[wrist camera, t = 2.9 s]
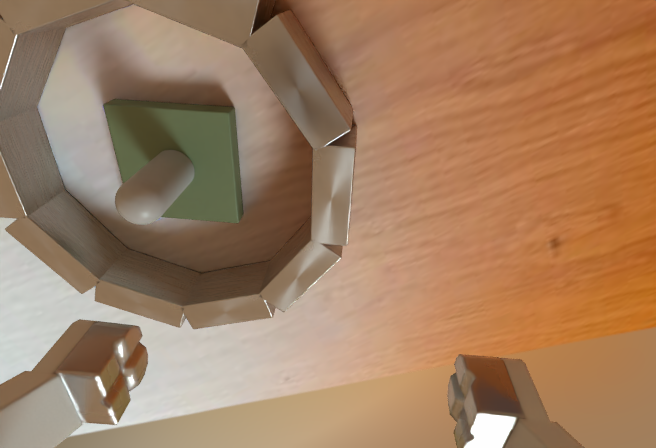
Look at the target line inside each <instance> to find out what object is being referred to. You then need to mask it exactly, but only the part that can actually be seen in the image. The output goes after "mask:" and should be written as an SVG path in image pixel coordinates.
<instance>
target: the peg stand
mask: <svg viewBox="0 0 656 448" xmlns="http://www.w3.org/2000/svg"><path fill="white" fill-rule="evenodd" d="M103 106H104V110H105V114H106V118H107V122H108V126H109V130H110V134H111V138H112V142H113V146H114V150H115V154H116V158H117V161H118V165H119V169H120V173H121V177H122V181H123V184H122V185H121V186H120V188H119V189H118V191H117V193H116V196H115V204H116V208H117V210H118V212H119V214H120V215H121V216H122V217H123V218H124V219H125V220H127V221H129V222H131V223H133V224H138V225H145V224H150V223H152V222H155V221H156V220H158V219H159V218H160V217H167V218H180V219H192V220H205V221H217V222H229V223H239V221H240V220H241V218H242V216H243V204H242V192H241V179H240V167H239V155H238V143H237V130H236V118H235V108H234V107H227V106H212V105H196V104H181V103H166V102H151V101H136V100H121V99H113V100H111V101H109V102H107V103H105V104H104V105H103Z"/></svg>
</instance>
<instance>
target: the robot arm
mask: <svg viewBox="0 0 656 448" xmlns="http://www.w3.org/2000/svg"><path fill="white" fill-rule="evenodd" d="M141 337H142V333H141V330H140V327H139V326H134V325H126V324H117V323H109V322H100V321H89V320H80V319H79V320H78V321H76V322H74V323H72V324H71V326H70V327H69V328H68V329H67V330H66V331H65V333H64V334H63V335H62V336H61V337H60V338H59V340H58V341H57V342H56V343H55V344H54V345H53V347H52V348H51V349H50V350H49V351H48V352H47V354H46V355H45V356H44V357H43V358H42V359H41V361H40V362H39V363H38V364H37V365H36V366H35V368H34V369H33V370H32V371H24V372H22V373H21V374H19V375H17V376H15V377H13V378H12V379H10V380H8V381H6V382H4V383H2V384H1V385H0V448H54V447H56V446H57V445H58V444H59V443H61V442H62V441H63V440H64V439H65V438H67V437H68V436H69V435H70V434H72V433H73V432H74V431H75V430H76V429H78V428H79V427H80V426H81V425H82V422H83V423H97V424H111V425H117V423H118V422H119V420H120V418H121V416H122V414H123V413H124V411H125V409H126V407H127V406H128V404H129V402H130V395H129V391H131V390H132V389H134V388H135V387H136V386H138V385H139V384H140V382H141V380H142V378H143V376H144V375H145V371H146V367H147V364H148V354H147V350H146V347H145V346H143V345H142V344H141V343H140V342H139V341H140V339H141ZM454 365H455V369H456V373H455V374H453V375H451V377H450V380H449V384H448V406H449V411H450V415H451V416H452V417H453V418H454V420H455V421H456V422H457V424H456V427H455V430H454V436H455V441H456V445H457V448H584V447H583V446H582V445H581V444H580V443H579V442H578V441H577V440H576V439H574V438H573V437H572V436H571V435H570V434H569V433H568V432H567V431H566V430H565V429H563V427H561V426H560V425H559V424H558V423H557V422H551V421H550V420H549V417H548V415H547V413H546V410H545V408H544V406H543V403H542V401H541V399H540V397H539V394H538V392H537V390H536V387H535V385H534V383H533V380H532V378H531V376H530V373H529V371H528V369H527V367H526V364H525V363H524V362H523V361H522V360H520V359H508V358H498V357H487V356H475V355H462V354H459V355H458V357H457V358H456V361H455V364H454Z"/></svg>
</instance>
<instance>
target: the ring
mask: <svg viewBox="0 0 656 448" xmlns="http://www.w3.org/2000/svg"><path fill="white" fill-rule="evenodd" d="M274 3H275V0H0V217H4V218H16V219H17V220H15V221H14V222H13V223H12V224H10V225H9V226H8V227H7V228H5V230H6V231H7V232H8V233H9V234H10V235H12V236H13V237H14V238H15V239H16V240H18V241H19V242H20V243H21V244H22V245H24V246H25V247H26V248H27V249H28V250H30V251H31V252H32V253H33V254H34V255H36V256H37V257H38V258H39V259H40V260H42V261H43V262H44V263H45V264H46V265H48V266H49V267H50V268H51V269H52V270H54V271H55V272H56V273H57V274H58V275H60V276H61V277H62V278H63V279H64V280H66V281H67V282H68V283H69V284H70V285H72V286H73V287H74V288H75V289H76V290H78V291H79V292H80V293H81V294H83V293H85V292H86V291H88V290H90V289H91V288H93V287H94V286H96V289H95V301H96V302H100V303H103V304H106V305H109V306H112V307H115V308H119V309H122V310H125V311H128V312H131V313H134V314H138V315H141V316H144V317H147V318H150V319H153V320H157V321H160V322H163V323H166V324H169V325H172V326H176V327H179V328H180V327H181V326H182V324H183V322H184V321H185V319H186V318H187V320H188V321H189V323H190V325H191V326H192V328H193V329H198V328H205V327H212V326H218V325H225V324H232V323H239V322H245V321H252V320H259V319H266V318H272V317H273V315H274V312H275V308H278V309H279V310H281V311H282V312H285V311H286V310H287V309H288V308H289V307H290V306H291V305H292V304H293V303H294V302H295V301H296V300H298V299H299V298H300V297H301V296H302V295H303V294H304V293H305V292H306V291H307V290H308V289H309V288H310V287H311V286H312V285H313V284H314V283H315V282H317V281H318V280H319V279H320V278H321V277H322V276H323V275H324V274H325V273H326V272H327V271H328V270H329V269H330V268H331V267H332V266H333V265H334V264H335V263H337V262H338V261H339V260H340V259H341V257H342V247H343V246H347V245H348V237H349V225H350V213H351V201H352V188H353V176H354V164H355V152H356V138H357V126H356V125H352V117H353V108H352V107H351V105H350V103H349V102H348V100H347V99H346V97H345V95H344V94H343V92H342V91H341V89H340V87H339V86H338V84H337V83H336V81H335V79H334V78H333V76H332V74H331V73H330V71H329V70H328V68H327V66H326V65H325V63H324V62H323V60H322V58H321V57H320V55H319V54H318V52H317V50H316V49H315V47H314V45H313V44H312V42H311V41H310V39H309V37H308V36H307V34H306V33H305V31H304V29H303V28H302V26H301V25H300V23H299V21H298V20H297V18H296V16H295V15H294V13H293V12H292V10H288V11H285V12H282V13H280V14H277V15H275V16H274V17H273V18H272V19H270V18H271V14H272V10H273V7H274ZM132 4H134V5H137V6H139V7H142V8H144V9H147V10H149V11H152V12H154V13H157V14H159V15H162V16H164V17H166V18H169V19H171V20H174V21H176V22H179V23H181V24H184V25H186V26H189V27H191V28H194V29H196V30H199V31H201V32H203V33H206V34H208V35H211V36H213V37H216V38H218V39H221V40H223V41H226V42H228V43H231V44H233V45H235V46H238V47H240V48H243V49H244V51H245V52H246V54H247V55H248V57H249V58H250V59H251V61H252V62H253V64H254V65H255V67H256V68H257V69H258V71H259V72H260V74H261V75H262V77H263V78H264V79H265V81H266V82H267V84H268V85H269V87H270V88H271V89H272V91H273V92H274V94H275V95H276V97H277V98H278V99H279V101H280V102H281V104H282V105H283V107H284V108H285V109H286V111H287V112H288V114H289V115H290V117H291V118H292V119H293V121H294V122H295V124H296V125H297V127H298V128H299V129H300V131H301V132H302V134H303V135H304V137H305V138H306V139H307V141H308V142H309V144H310V145H311V147H312V148H313V160H312V204H311V217H310V218H309V219H308V220H307V222H306V223H305V224H304V225H303V226H302V227H301V228H300V229H299V230H298V231H297V232H296V233H295V235H294V236H293V237H292V238H291V239H290V240H289V241H288V242H287V243H286V244H285V245H284V246H283V248H282V249H281V250H280V251H279V252H278V253H277V254H276V255H275V256H274V257H273V258H272V259H271V261H266V262H261V263H255V264H250V265H244V266H239V267H233V268H228V269H222V270H217V271H211V272H205V273H199V272H196V271H193V270H190V269H187V268H184V267H181V266H178V265H175V264H172V263H169V262H166V261H163V260H160V259H157V258H154V257H151V256H148V255H145V254H142V253H139V252H136V251H133V250H130V249H127V248H126V247H125V246H124V245H123V244H122V243H121V242H120V241H119V240H118V239H117V238H116V237H115V236H113V235H112V234H111V233H110V232H109V231H108V230H107V229H106V228H105V227H104V226H103V225H102V224H101V223H100V222H99V221H98V220H97V219H95V218H94V217H93V216H92V215H91V214H90V213H89V212H88V211H87V210H86V209H85V208H84V207H83V206H82V205H81V204H80V203H79V202H77V201H76V200H75V199H74V198H73V197H72V196H71V195H70V194H69V193H68V192H67V191H66V190H65V188H64V185H63V183H62V180H61V177H60V174H59V171H58V168H57V165H56V162H55V159H54V156H53V153H52V150H51V147H50V144H49V142H48V139H47V136H46V133H45V130H44V127H43V124H42V121H41V118H40V115H39V112H38V109H37V105H38V102H39V100H40V97H41V94H42V92H43V89H44V86H45V84H46V81H47V78H48V75H49V73H50V70H51V67H52V65H53V62H54V59H55V56H56V54H57V51H58V48H59V46H60V43H61V40H62V38H63V35H64V32H65V29H66V28H67V27H70V26H73V25H76V24H78V23H81V22H84V21H87V20H90V19H93V18H95V17H98V16H101V15H104V14H107V13H110V12H112V11H115V10H118V9H121V8H124V7H127V6H129V5H132Z"/></svg>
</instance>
